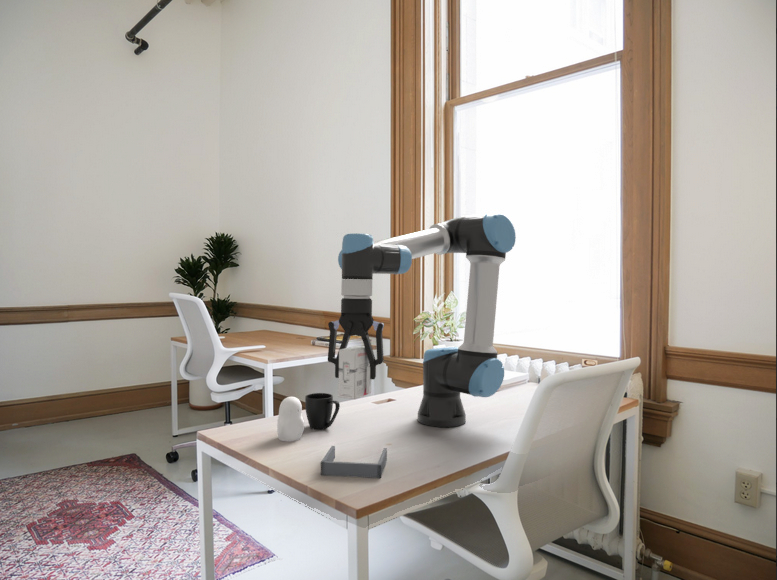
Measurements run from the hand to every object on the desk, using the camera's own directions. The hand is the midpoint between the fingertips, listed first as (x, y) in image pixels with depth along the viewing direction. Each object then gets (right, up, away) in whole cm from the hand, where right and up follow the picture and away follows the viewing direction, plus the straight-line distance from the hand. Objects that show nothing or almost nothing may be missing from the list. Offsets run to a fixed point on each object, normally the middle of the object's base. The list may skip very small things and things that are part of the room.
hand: (355, 391), depth 134 cm
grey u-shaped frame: (0, -18, -2) cm, 18 cm away
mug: (-11, -17, +30) cm, 36 cm away
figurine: (-20, -17, +20) cm, 33 cm away
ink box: (0, -1, 0) cm, 1 cm away
